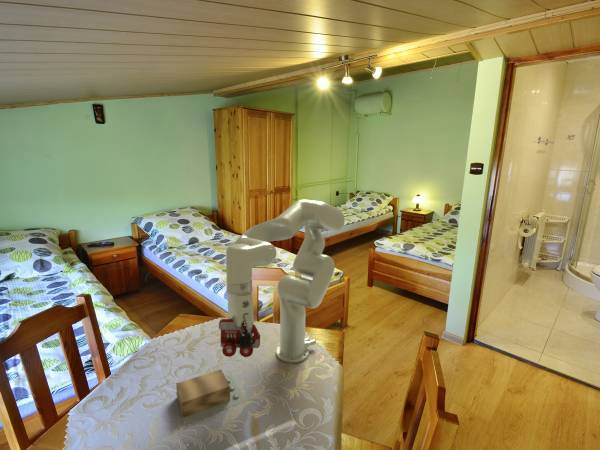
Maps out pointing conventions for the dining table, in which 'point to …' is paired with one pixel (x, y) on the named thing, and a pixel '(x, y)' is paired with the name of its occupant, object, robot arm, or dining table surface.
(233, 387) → the build plate
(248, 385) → the dining table surface
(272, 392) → the dining table surface
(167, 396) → the dining table surface
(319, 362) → the dining table surface
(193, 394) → the base brick
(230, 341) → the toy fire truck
